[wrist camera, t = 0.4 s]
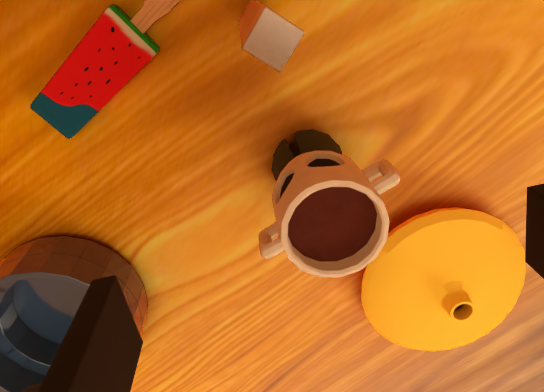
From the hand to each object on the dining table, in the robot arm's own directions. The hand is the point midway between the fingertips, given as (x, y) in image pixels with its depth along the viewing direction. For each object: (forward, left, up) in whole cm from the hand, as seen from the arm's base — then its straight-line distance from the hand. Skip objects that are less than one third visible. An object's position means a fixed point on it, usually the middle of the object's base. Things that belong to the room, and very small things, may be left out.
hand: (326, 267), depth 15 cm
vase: (+6, +23, -27) cm, 36 cm away
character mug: (+3, +6, -27) cm, 27 cm away
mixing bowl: (+26, -6, -26) cm, 38 cm away
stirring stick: (-5, -4, -26) cm, 27 cm away
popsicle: (+3, -12, -27) cm, 29 cm away
